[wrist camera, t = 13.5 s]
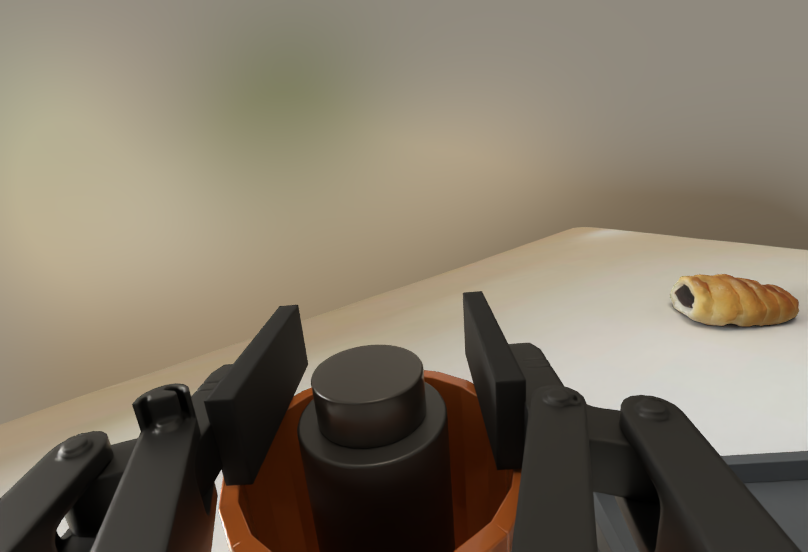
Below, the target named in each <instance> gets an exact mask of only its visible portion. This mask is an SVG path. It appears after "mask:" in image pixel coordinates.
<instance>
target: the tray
mask: <svg viewBox="0 0 808 552" xmlns="http://www.w3.org/2000/svg"><path fill="white" fill-rule="evenodd" d="M721 457H722V459H723V460H724V461H725V462H726V463H727V464H728V466H729V467H730V468H731V469H732V470H733V471H734V473H735V474H736V475H737V476H738V477H739V479H740V480H741V481H742V482H743V483H744V484H745V486H746V487H747V488H748V489H749V490H750V491H751V493H752V494H753V495H754V496H755V497H756V499H757V500H758V501H759V502H760V503H761V504H762V506H763V507H764V508H765V509H766V510H767V511H768V513H769V514H770V515H771V516H772V517H773V519H774V520H775V521H776V522H777V523H778V524H779V526H780V527H781V528H782V529H783V530H784V532H785V533H786V534H787V535H788V536H789V537H790V539H791V540H792V541H793V542H794V543H795V544H796V546H797V547H798V548H799V549H800V550H801V552H808V451H799V452H782V453H765V454H747V455H730V456H721ZM593 496H594V508H595V521H596V534H597V547H598V552H639V550H638V548H637V546H636V544H635V541H634V539H633V537H632V535H631V533H630V530H629V528H628V526H627V524H626V522H625V519H624V517H623V515H622V513H621V511H620V508H619V506H618V504H617V502H616V500H615V496H613V495H608V494H603V493H598V492H593Z"/></svg>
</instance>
